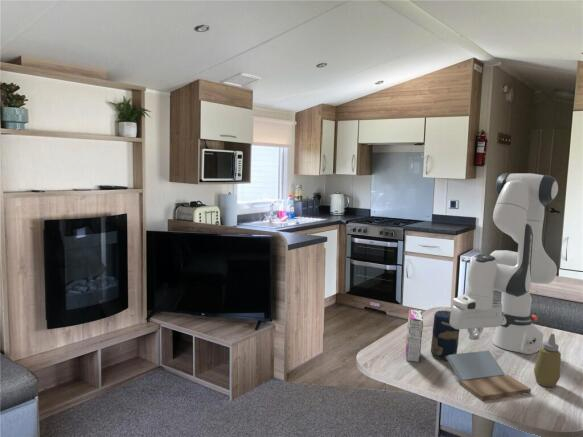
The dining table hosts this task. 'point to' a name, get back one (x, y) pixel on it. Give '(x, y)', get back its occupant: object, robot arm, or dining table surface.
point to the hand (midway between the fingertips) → (473, 339)
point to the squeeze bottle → (548, 363)
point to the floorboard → (495, 387)
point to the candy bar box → (414, 335)
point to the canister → (444, 336)
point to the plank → (474, 365)
